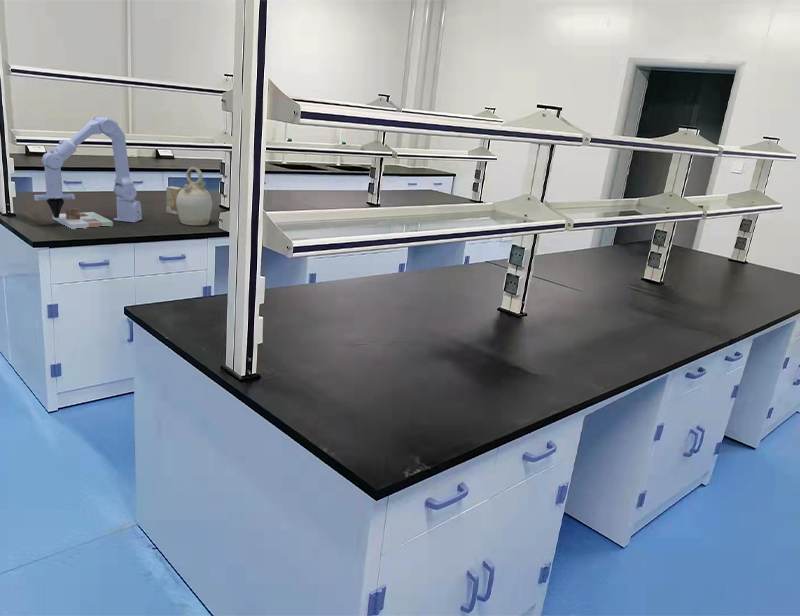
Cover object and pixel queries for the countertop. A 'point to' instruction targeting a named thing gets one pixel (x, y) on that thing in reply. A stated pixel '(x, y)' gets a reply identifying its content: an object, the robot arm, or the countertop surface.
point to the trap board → (84, 220)
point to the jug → (194, 201)
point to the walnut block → (72, 213)
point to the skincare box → (172, 199)
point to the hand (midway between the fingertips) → (56, 217)
